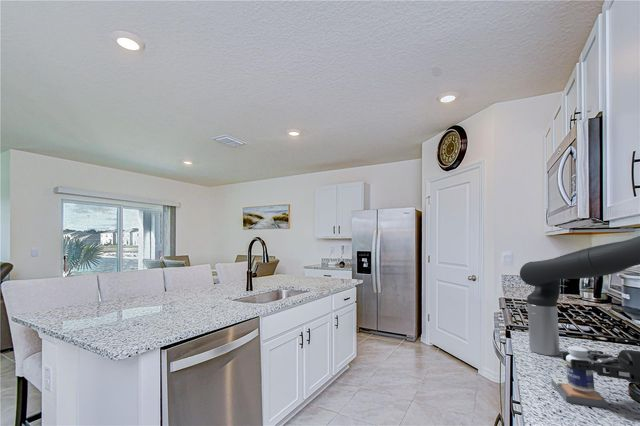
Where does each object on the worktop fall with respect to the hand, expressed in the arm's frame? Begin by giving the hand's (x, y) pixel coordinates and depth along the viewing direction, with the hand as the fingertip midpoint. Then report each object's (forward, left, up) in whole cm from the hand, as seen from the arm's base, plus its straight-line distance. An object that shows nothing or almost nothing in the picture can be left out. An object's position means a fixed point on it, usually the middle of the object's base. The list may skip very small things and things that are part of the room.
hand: (567, 359), depth 84 cm
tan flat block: (-2, +3, -9) cm, 10 cm away
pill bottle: (0, +3, -7) cm, 7 cm away
